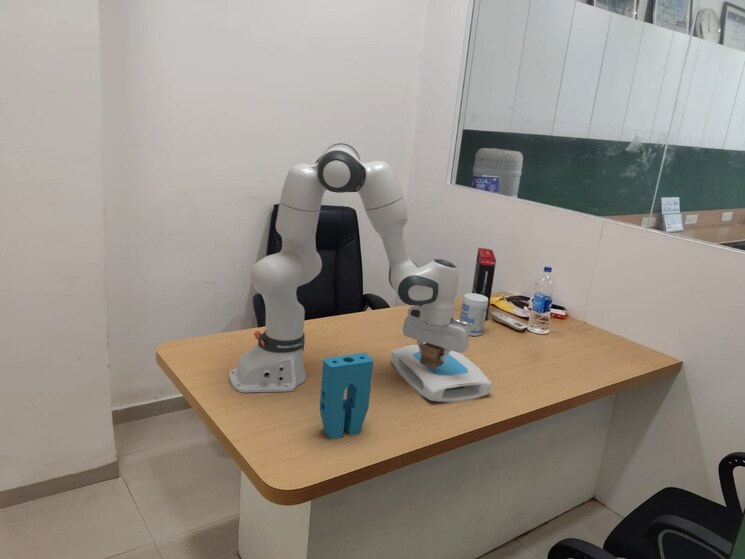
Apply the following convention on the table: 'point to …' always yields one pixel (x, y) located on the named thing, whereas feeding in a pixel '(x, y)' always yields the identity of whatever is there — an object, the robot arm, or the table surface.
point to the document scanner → (441, 376)
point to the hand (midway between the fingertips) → (432, 357)
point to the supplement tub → (474, 312)
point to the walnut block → (431, 355)
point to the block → (335, 380)
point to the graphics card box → (484, 274)
